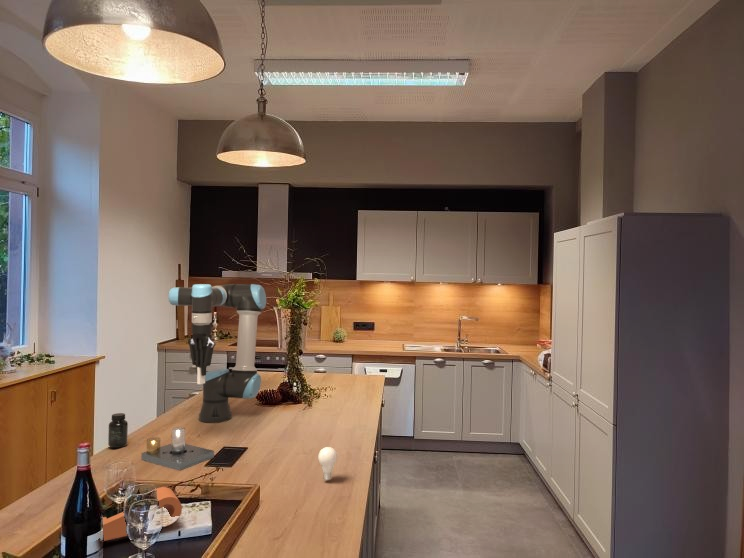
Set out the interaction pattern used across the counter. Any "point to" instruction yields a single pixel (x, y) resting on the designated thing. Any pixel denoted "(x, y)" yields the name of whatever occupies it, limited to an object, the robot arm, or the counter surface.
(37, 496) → the counter surface
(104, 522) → the crank
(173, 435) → the rounded peg
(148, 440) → the plate
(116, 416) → the supplement bottle
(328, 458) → the lightbulb
